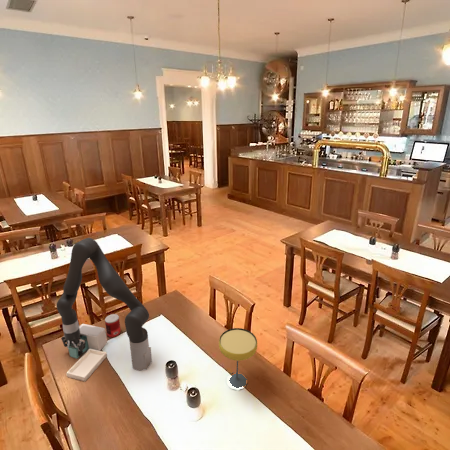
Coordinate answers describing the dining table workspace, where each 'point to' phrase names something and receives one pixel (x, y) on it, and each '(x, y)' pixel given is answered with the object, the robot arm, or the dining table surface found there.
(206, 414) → the dining table surface
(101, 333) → the box
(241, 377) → the cocktail glass
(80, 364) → the tray
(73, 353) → the teal box
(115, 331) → the canned food
